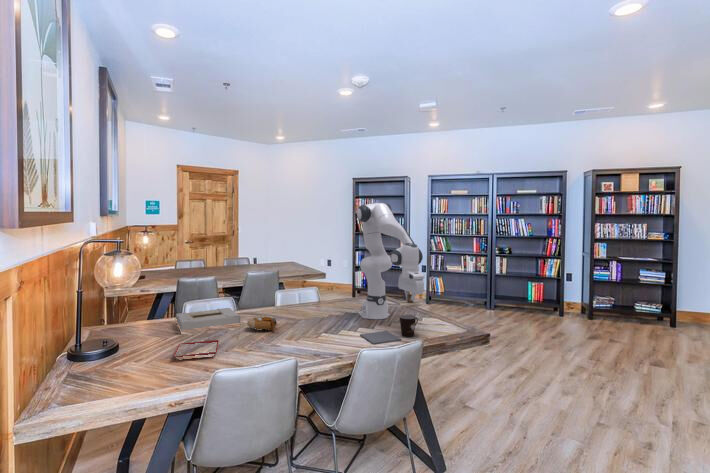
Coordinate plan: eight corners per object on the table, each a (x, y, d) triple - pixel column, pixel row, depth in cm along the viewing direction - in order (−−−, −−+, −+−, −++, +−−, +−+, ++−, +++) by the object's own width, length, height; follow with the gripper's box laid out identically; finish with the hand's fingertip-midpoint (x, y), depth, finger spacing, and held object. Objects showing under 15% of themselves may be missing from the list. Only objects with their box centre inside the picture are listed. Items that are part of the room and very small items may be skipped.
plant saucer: (173, 363, 169) (172, 355, 169) (179, 349, 186) (178, 343, 186) (217, 359, 174) (217, 351, 174) (219, 346, 191) (219, 339, 191)
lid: (393, 302, 211) (393, 293, 210) (414, 300, 216) (414, 291, 216) (406, 307, 199) (406, 298, 198) (427, 305, 204) (427, 296, 204)
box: (181, 336, 208) (241, 327, 225) (180, 321, 208) (240, 313, 225) (175, 326, 228) (230, 318, 245) (174, 313, 228) (230, 306, 245)
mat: (359, 335, 207) (359, 334, 207) (386, 332, 214) (386, 330, 214) (373, 344, 193) (373, 343, 193) (401, 340, 199) (401, 339, 199)
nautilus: (287, 332, 214) (264, 340, 204) (266, 323, 230) (243, 329, 219) (287, 318, 213) (263, 325, 203) (266, 309, 229) (242, 315, 218)
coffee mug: (403, 338, 202) (403, 319, 202) (397, 333, 211) (397, 315, 210) (423, 336, 205) (423, 317, 205) (416, 332, 214) (417, 314, 213)
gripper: (395, 271, 215) (395, 296, 215) (415, 276, 196) (415, 304, 197) (405, 271, 217) (405, 295, 218) (426, 276, 199) (426, 303, 199)
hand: (410, 299), depth 207 cm, fingers closed on lid, 3 cm apart
